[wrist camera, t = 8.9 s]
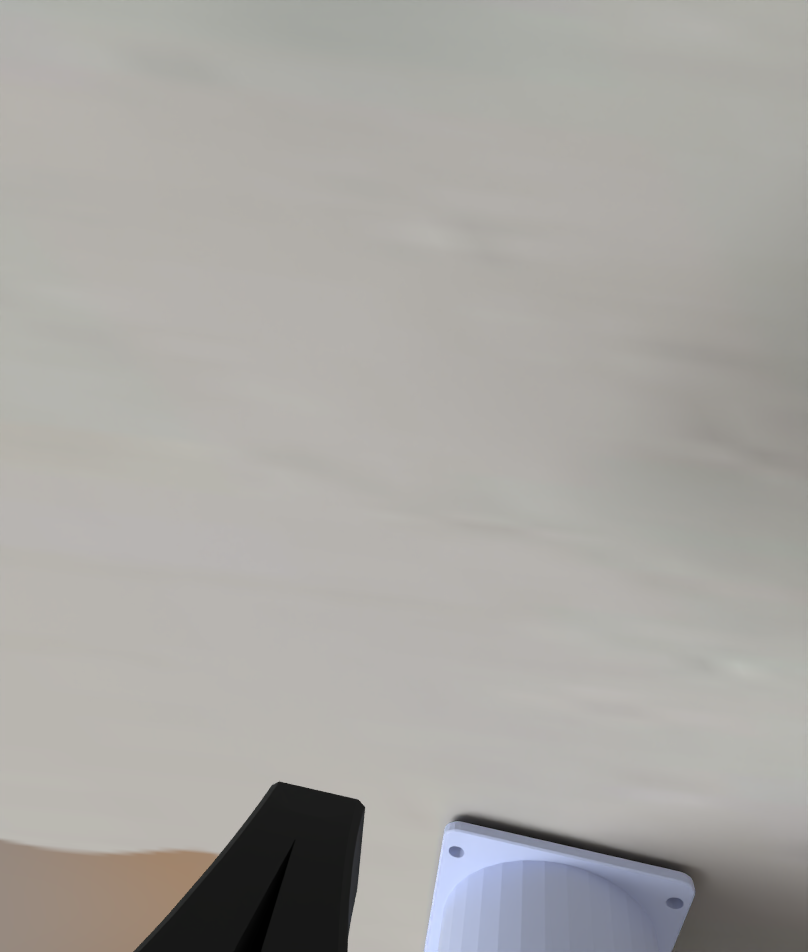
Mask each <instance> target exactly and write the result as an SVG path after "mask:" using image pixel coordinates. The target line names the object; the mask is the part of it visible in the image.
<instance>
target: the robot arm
mask: <svg viewBox="0 0 808 952" xmlns="http://www.w3.org/2000/svg"><path fill="white" fill-rule="evenodd" d="M364 813H365V807H364V806H363V804H362V803H361V802H360V801H359V800H357V799H353V798H349V797H344V796H340V795H336V794H331V793H327V792H323V791H318V790H314V789H309V788H305V787H301V786H296V785H292V784H288V783H283V782H278V783H276V784H274V785H272V786H271V787H270V789H269V790H268V792H267V793H266V795H265V796H264V797H263V799H262V800H261V802H260V803H259V804H258V806H257V807H256V808H255V810H254V811H253V812H252V814H251V815H250V816H249V818H248V819H247V820H246V822H245V823H244V824H243V826H242V827H241V828H240V830H239V831H238V832H237V833H236V835H235V836H234V837H233V838H232V840H231V841H230V842H229V843H228V845H227V846H226V847H225V848H224V850H223V851H222V852H221V853H220V855H219V856H218V857H217V858H216V859H215V861H214V862H213V863H212V865H211V866H210V867H209V868H208V869H207V870H206V871H205V873H204V874H203V875H202V876H201V877H200V879H199V880H198V881H197V882H196V883H195V884H194V885H193V886H192V888H191V889H190V890H189V891H188V892H187V894H186V895H185V896H184V897H183V898H182V899H181V900H180V902H179V903H178V904H177V905H176V906H175V908H173V910H172V911H171V912H170V913H169V914H168V915H167V916H166V917H165V919H164V920H163V921H162V922H161V923H160V924H159V925H158V926H157V927H156V928H155V930H154V931H153V932H152V933H151V934H150V935H149V936H148V937H147V938H146V939H145V940H144V941H143V942H142V943H141V944H140V945H139V947H137V949H136V950H135V951H134V952H347V949H348V934H349V928H350V922H351V916H352V912H353V907H354V902H355V897H356V892H357V885H358V875H359V865H360V854H361V844H362V834H363V823H364ZM456 846H458V847H456ZM694 896H695V887H694V883H693V880H692V879H691V877H690V876H688V875H687V874H685V873H682V872H680V871H675V870H671V869H666V868H662V867H658V866H653V865H649V864H645V863H640V862H636V861H631V860H627V859H623V858H618V857H614V856H610V855H605V854H601V853H597V852H592V851H588V850H583V849H579V848H575V847H570V846H566V845H562V844H557V843H553V842H548V841H544V840H540V839H535V838H531V837H527V836H522V835H518V834H514V833H509V832H505V831H500V830H496V829H492V828H487V827H483V826H479V825H474V824H470V823H465V822H461V821H454V822H450V823H449V824H447V825H446V827H445V830H444V836H443V842H442V848H441V854H440V860H439V866H438V872H437V878H436V884H435V889H434V895H433V901H432V907H431V913H430V919H429V925H428V931H427V937H426V943H425V949H424V952H672V950H673V947H674V945H675V943H676V940H677V938H678V935H679V933H680V930H681V928H682V926H683V923H684V921H685V918H686V916H687V913H688V911H689V908H690V906H691V904H692V901H693V899H694Z"/></svg>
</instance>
